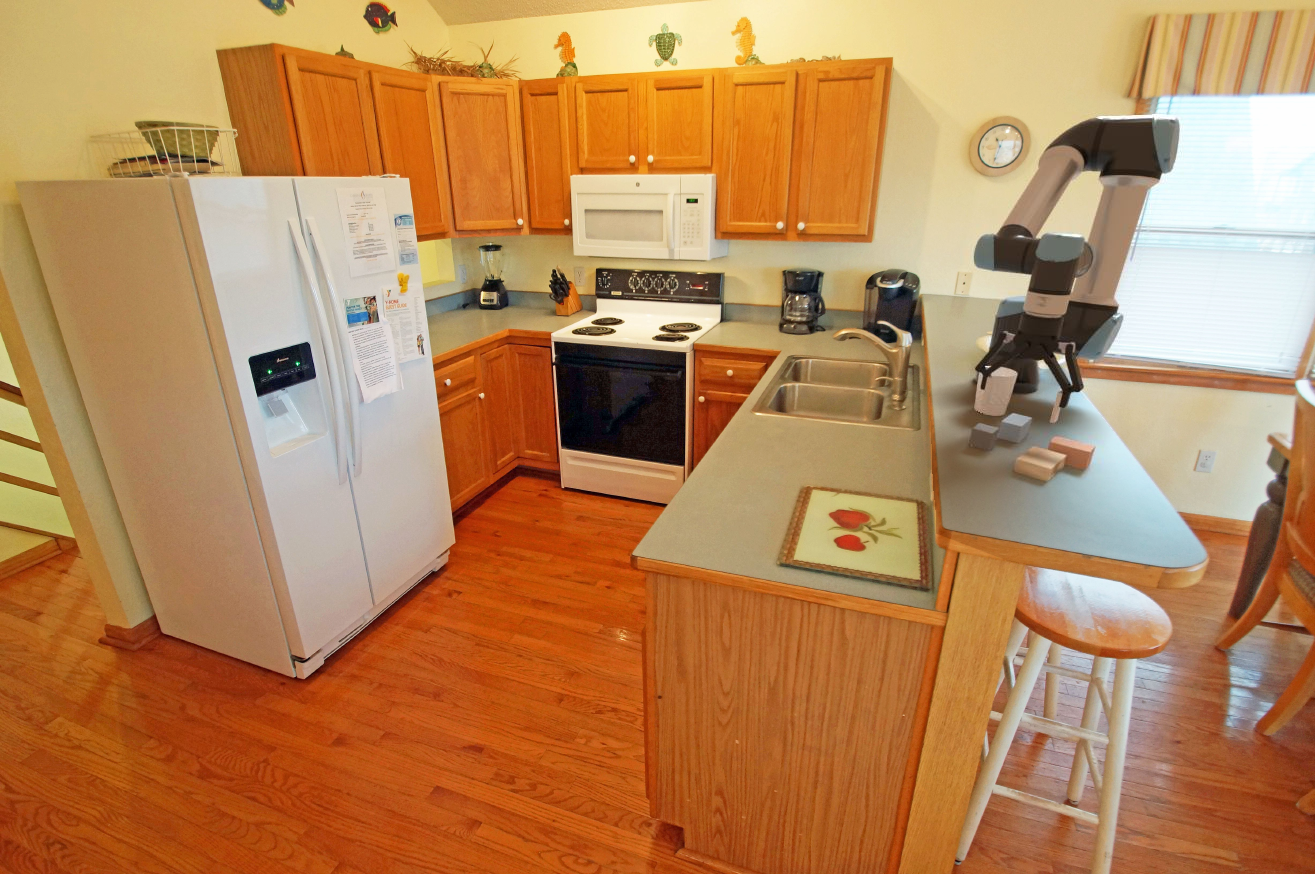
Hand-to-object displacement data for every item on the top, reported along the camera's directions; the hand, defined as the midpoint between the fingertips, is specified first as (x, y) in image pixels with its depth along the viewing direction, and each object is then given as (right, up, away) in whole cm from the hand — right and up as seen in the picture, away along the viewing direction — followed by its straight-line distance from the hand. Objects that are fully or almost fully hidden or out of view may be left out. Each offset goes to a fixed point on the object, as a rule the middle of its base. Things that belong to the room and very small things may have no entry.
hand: (1018, 412), depth 137 cm
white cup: (+2, +1, +16) cm, 16 cm away
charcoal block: (-9, -7, -2) cm, 11 cm away
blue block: (0, -5, +3) cm, 6 cm away
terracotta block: (+5, -10, -9) cm, 14 cm away
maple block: (-3, -12, -12) cm, 17 cm away
